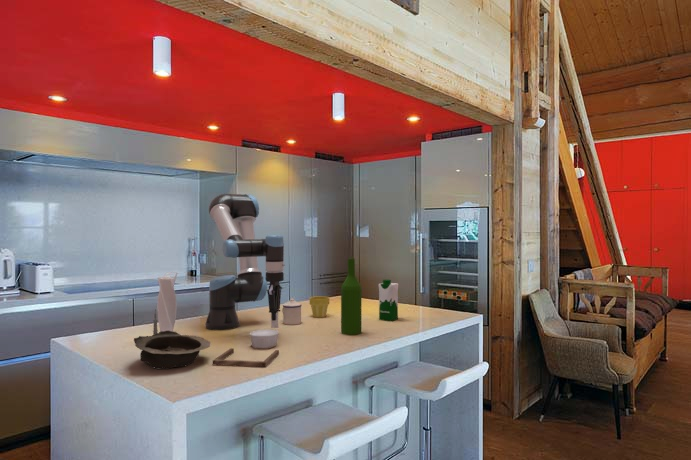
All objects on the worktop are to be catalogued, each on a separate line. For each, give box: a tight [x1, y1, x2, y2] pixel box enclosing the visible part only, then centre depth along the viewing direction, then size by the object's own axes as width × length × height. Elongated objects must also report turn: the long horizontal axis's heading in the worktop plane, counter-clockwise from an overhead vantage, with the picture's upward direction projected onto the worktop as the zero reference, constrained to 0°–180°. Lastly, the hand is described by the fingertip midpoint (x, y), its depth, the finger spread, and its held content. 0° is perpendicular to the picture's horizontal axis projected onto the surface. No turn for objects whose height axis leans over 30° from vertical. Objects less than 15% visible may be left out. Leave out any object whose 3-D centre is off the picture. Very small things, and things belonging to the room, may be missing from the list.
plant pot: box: [308, 295, 330, 318], centre depth 232 cm, size 10×10×10 cm
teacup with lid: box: [281, 298, 302, 326], centre depth 217 cm, size 12×9×12 cm
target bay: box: [212, 347, 280, 368], centre depth 156 cm, size 18×15×2 cm
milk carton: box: [378, 279, 399, 322], centre depth 224 cm, size 9×9×20 cm
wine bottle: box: [340, 257, 362, 336], centre depth 196 cm, size 9×9×32 cm
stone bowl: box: [133, 330, 211, 369], centre depth 153 cm, size 25×25×9 cm
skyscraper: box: [152, 271, 178, 335], centre depth 184 cm, size 8×8×28 cm
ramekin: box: [249, 329, 280, 350], centre depth 174 cm, size 11×11×5 cm
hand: (274, 327), depth 188 cm, fingers closed
